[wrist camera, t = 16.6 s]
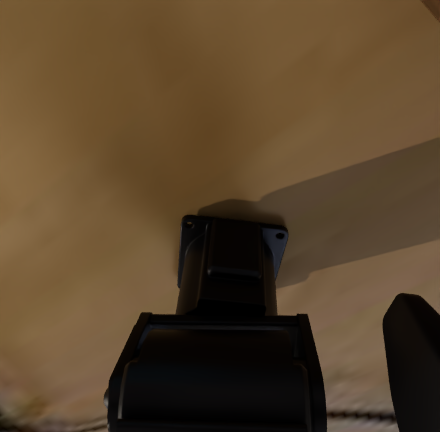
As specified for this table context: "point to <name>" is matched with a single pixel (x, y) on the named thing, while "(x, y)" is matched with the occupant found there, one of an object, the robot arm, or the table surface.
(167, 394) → the robot arm
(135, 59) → the table surface
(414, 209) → the table surface
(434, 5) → the cabinet
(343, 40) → the table surface
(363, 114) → the table surface
